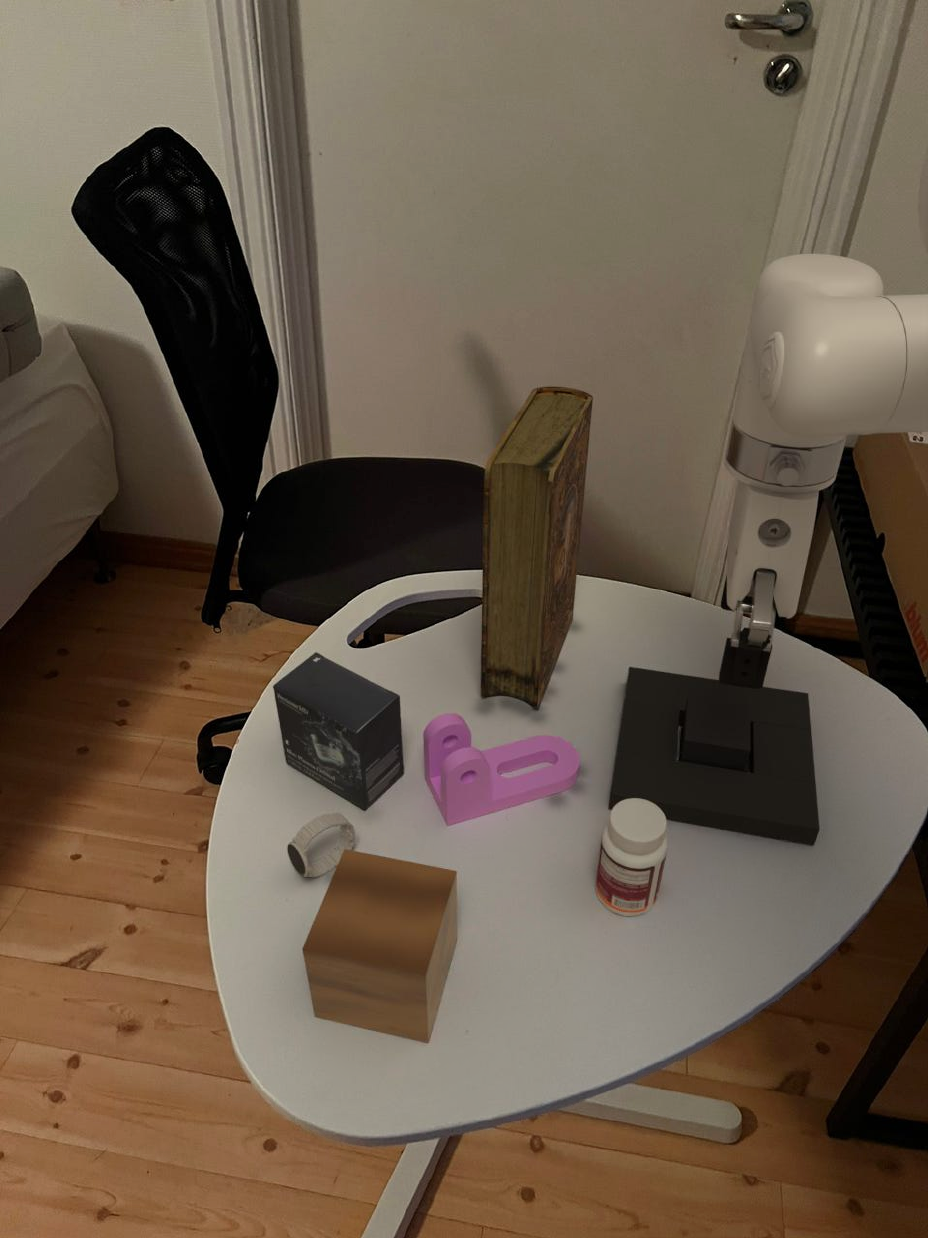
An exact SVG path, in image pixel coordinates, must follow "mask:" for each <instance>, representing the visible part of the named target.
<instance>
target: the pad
mask: <svg viewBox="0 0 928 1238" xmlns="http://www.w3.org/2000/svg"><path fill="white" fill-rule="evenodd" d="M679 740H680V742H679V753H678V761H682V762H688V763H695V764H701V765H707V766H713V767H719V768H725V769H731V770H737V771H743V772H746V770H747V765H748V763H749V755H750V751H751V728H750V707H744V706H738V705H731V704H725V703H719V702H712V701H706V700H699V699H693V698H688V699H687V704H686V709H685V714H684V719H683V724H682V726H681V729H680V739H679Z"/></svg>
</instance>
